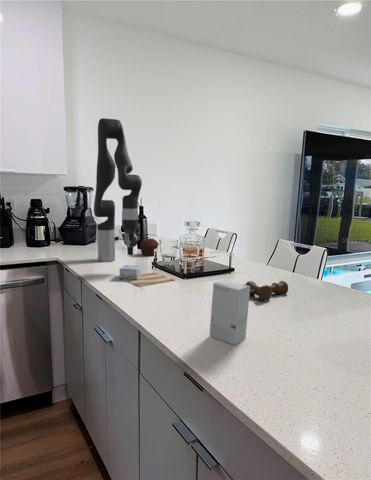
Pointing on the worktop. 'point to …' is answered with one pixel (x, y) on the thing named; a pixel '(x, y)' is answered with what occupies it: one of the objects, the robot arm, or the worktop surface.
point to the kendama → (267, 289)
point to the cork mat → (149, 279)
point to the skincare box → (229, 311)
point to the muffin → (148, 247)
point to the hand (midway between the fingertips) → (130, 254)
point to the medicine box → (130, 272)
